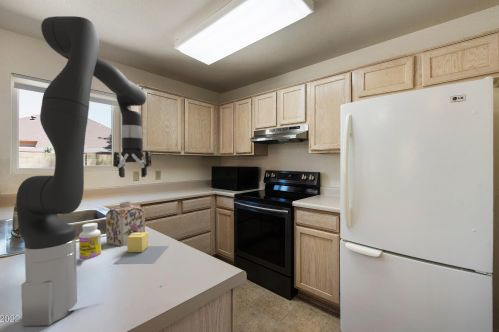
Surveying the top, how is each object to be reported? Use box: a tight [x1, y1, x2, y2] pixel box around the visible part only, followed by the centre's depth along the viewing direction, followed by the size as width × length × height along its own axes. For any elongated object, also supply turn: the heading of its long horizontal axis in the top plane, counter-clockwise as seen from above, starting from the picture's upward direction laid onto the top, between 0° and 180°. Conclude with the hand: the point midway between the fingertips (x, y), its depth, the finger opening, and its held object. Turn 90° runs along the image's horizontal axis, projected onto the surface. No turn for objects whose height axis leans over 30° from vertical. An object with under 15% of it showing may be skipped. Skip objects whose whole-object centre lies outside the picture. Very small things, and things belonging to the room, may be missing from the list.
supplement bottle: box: [78, 222, 102, 262], centre depth 85 cm, size 7×7×13 cm
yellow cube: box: [127, 231, 149, 253], centre depth 89 cm, size 6×6×6 cm
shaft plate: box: [113, 245, 170, 265], centre depth 86 cm, size 16×14×5 cm
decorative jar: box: [105, 201, 146, 247], centre depth 103 cm, size 12×12×18 cm
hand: (132, 177), depth 92 cm, fingers open, 8 cm apart
